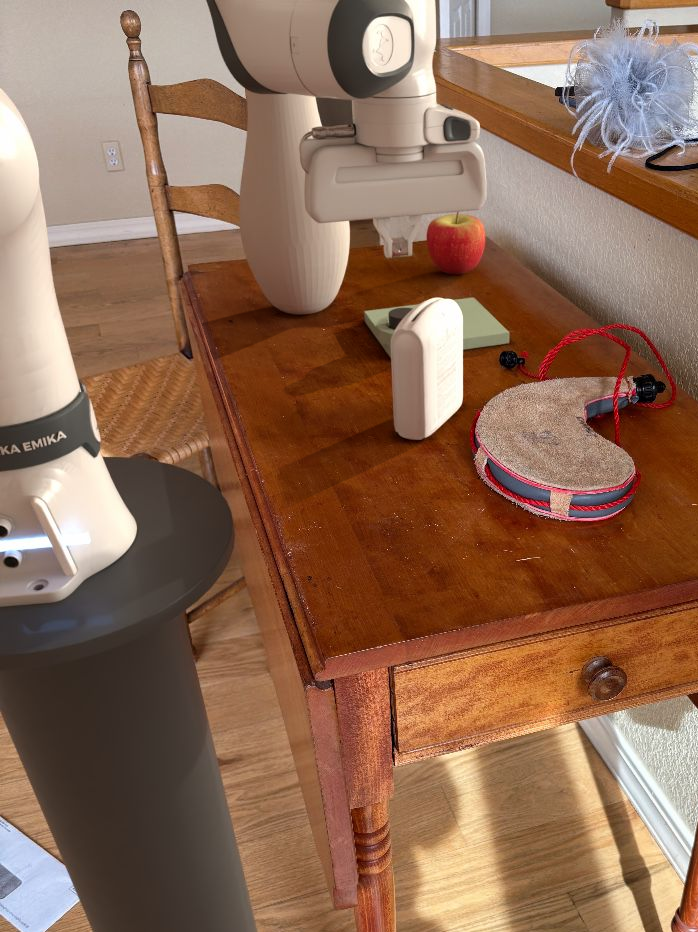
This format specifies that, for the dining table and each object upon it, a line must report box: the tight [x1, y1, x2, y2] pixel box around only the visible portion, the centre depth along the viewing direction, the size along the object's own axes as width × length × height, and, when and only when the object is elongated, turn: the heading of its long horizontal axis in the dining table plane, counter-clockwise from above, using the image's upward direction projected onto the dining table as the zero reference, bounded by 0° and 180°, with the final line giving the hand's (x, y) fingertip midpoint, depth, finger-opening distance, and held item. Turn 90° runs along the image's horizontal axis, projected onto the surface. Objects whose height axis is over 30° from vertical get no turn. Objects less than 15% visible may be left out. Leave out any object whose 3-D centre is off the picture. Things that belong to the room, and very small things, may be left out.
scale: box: [363, 297, 510, 359], centre depth 116 cm, size 16×13×3 cm
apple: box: [426, 212, 486, 276], centre depth 132 cm, size 8×8×10 cm
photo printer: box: [390, 297, 464, 441], centre depth 94 cm, size 10×4×12 cm, turn 155°
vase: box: [238, 89, 351, 316], centre depth 115 cm, size 14×14×30 cm
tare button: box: [389, 308, 412, 330], centre depth 111 cm, size 4×4×2 cm
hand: (398, 255), depth 106 cm, fingers closed
